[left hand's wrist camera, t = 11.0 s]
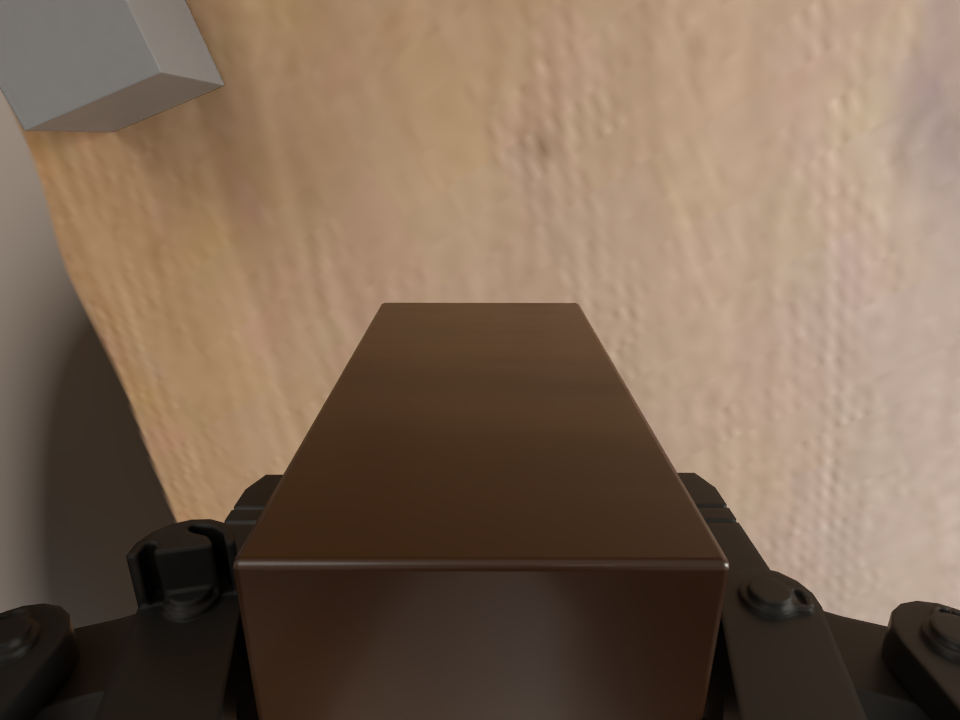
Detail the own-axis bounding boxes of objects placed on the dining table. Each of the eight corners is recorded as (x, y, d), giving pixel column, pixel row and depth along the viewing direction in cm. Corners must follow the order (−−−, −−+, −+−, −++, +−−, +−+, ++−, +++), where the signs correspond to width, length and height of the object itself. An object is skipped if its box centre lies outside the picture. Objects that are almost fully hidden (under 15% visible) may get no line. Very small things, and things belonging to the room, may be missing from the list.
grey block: (40, -4, 23) (-76, -41, 18) (158, -58, 22) (72, -111, 17) (113, 132, 24) (24, 131, 19) (225, 85, 24) (161, 72, 19)
